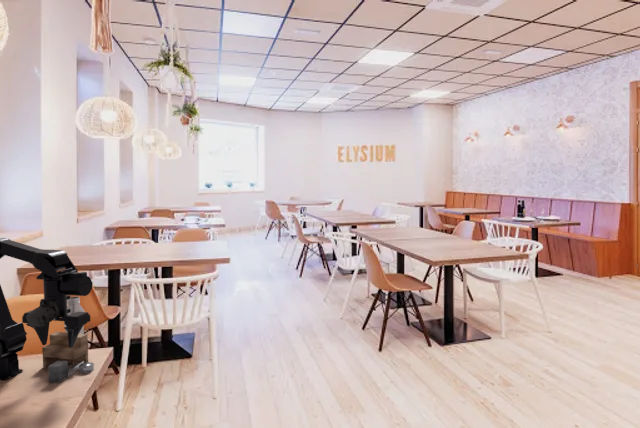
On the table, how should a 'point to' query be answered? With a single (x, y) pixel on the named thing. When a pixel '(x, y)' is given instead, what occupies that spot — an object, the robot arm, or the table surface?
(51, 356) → the plinth cabinet
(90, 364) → the steel token
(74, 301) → the plastic bottle
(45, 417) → the table surface
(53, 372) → the grey mallet
